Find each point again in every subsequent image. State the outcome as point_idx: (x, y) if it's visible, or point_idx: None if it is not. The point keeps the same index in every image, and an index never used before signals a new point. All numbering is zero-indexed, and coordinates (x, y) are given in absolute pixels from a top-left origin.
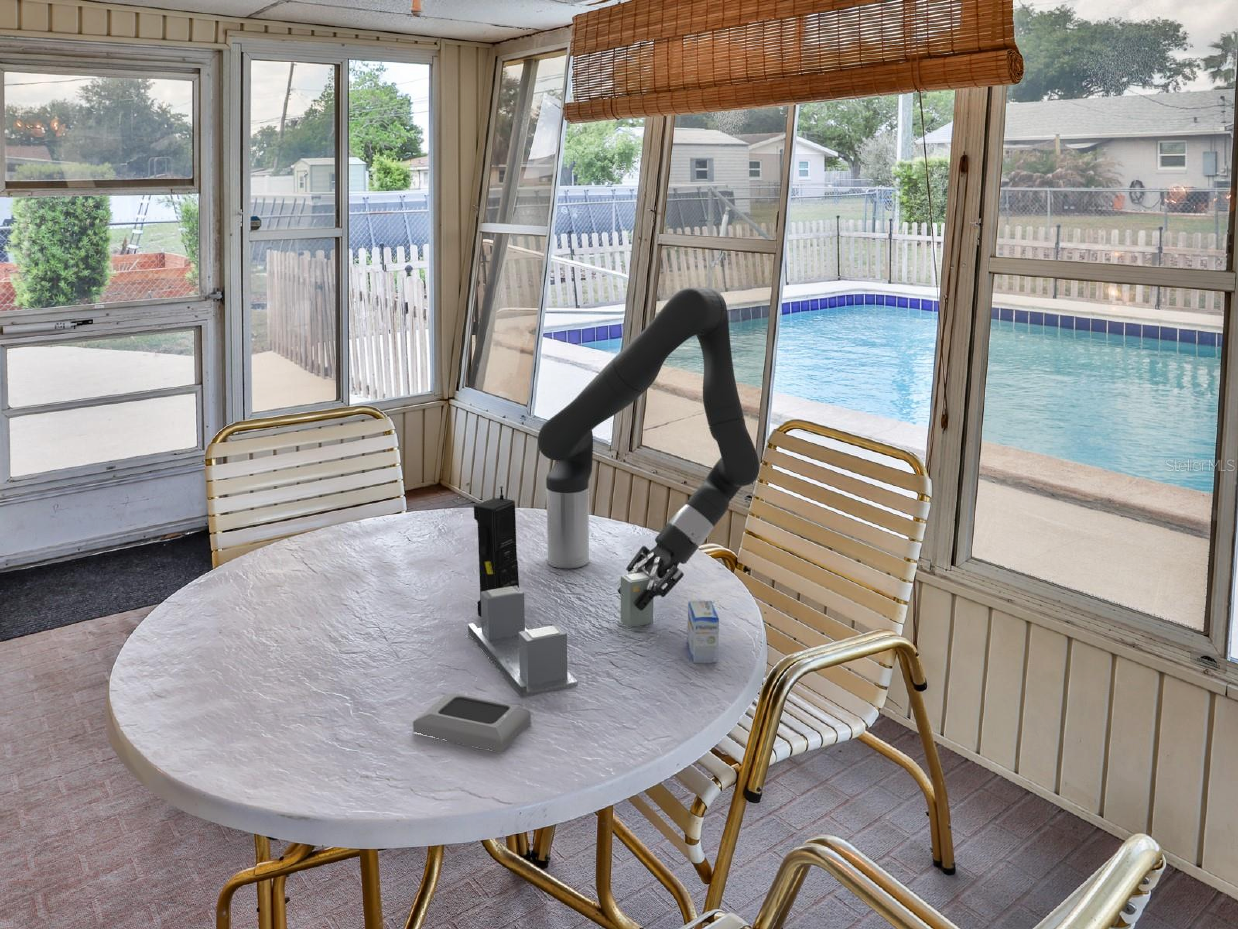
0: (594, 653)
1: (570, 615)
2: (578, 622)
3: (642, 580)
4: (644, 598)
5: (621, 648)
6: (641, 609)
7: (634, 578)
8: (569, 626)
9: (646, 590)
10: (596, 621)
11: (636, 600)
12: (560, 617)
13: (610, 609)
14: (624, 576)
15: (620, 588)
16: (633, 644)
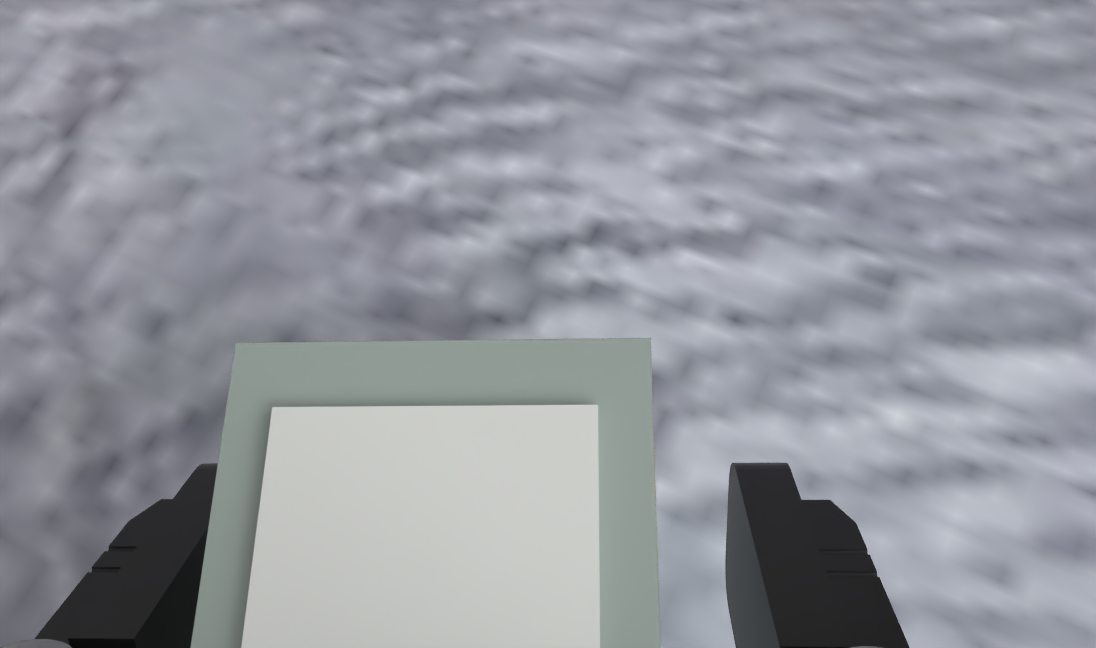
0: (123, 57)
1: (914, 143)
2: (732, 150)
3: (196, 628)
4: (95, 573)
5: (69, 259)
6: None
7: (335, 496)
8: (680, 63)
9: (75, 629)
10: (689, 292)
11: None
12: (897, 61)
13: (941, 543)
14: (572, 383)
15: (760, 484)
16: (70, 379)
